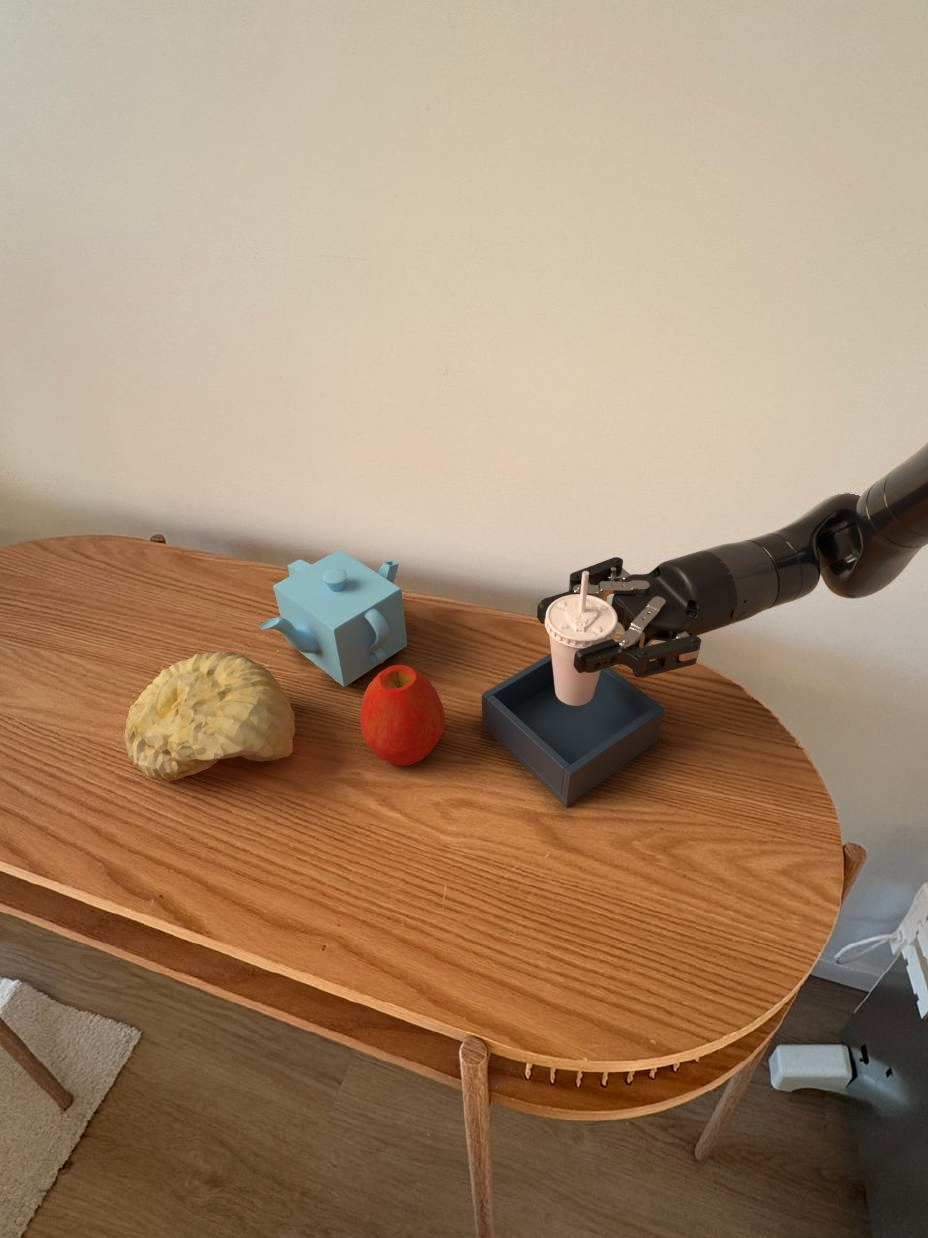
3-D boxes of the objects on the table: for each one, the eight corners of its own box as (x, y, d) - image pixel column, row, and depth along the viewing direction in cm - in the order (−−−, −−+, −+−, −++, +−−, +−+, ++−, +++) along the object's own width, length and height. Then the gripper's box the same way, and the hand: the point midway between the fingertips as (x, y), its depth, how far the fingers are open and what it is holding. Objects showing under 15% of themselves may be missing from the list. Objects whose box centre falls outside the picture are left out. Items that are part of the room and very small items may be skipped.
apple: (463, 746, 74) (460, 671, 67) (401, 795, 69) (391, 720, 62) (409, 704, 78) (401, 629, 71) (348, 747, 74) (333, 673, 67)
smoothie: (608, 671, 72) (624, 557, 63) (606, 720, 68) (623, 604, 58) (544, 665, 73) (550, 551, 64) (537, 712, 69) (543, 597, 59)
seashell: (246, 694, 83) (107, 739, 74) (245, 614, 77) (94, 653, 68) (322, 787, 73) (171, 853, 64) (327, 704, 67) (163, 763, 58)
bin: (657, 741, 74) (665, 708, 70) (566, 808, 68) (570, 774, 65) (570, 672, 81) (573, 639, 78) (481, 726, 76) (481, 693, 72)
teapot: (445, 646, 85) (441, 569, 77) (321, 733, 75) (302, 654, 68) (359, 588, 93) (348, 513, 86) (237, 660, 84) (213, 583, 76)
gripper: (675, 516, 72) (522, 559, 67) (775, 602, 62) (602, 659, 57) (663, 577, 77) (520, 620, 72) (754, 665, 66) (594, 722, 62)
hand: (557, 637), depth 65 cm, fingers closed on smoothie, 6 cm apart
